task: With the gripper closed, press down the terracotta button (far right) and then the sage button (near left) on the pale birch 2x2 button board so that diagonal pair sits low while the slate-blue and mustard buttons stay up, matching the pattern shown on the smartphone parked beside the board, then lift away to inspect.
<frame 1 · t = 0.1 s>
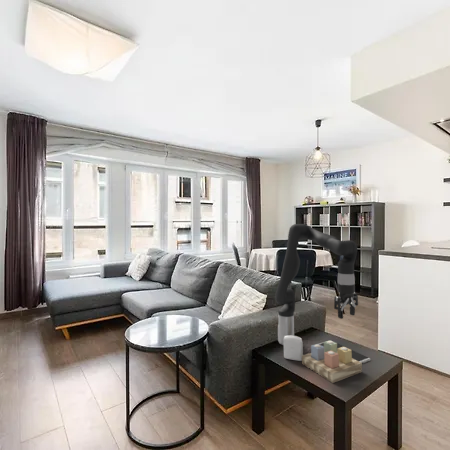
hand: (346, 316, 136), 29 cm above the table, fingers open, 8 cm apart
smartphone: (341, 354, 161), on the table
photo printer: (293, 359, 155), on the table
board: (331, 367, 145), on the table
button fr: (331, 359, 138), point 7 cm above the table, slide at 0.0 cm
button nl: (330, 348, 151), point 7 cm above the table, slide at 0.0 cm
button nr: (317, 351, 146), point 7 cm above the table, slide at 0.0 cm
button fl: (344, 354, 143), point 7 cm above the table, slide at 0.0 cm
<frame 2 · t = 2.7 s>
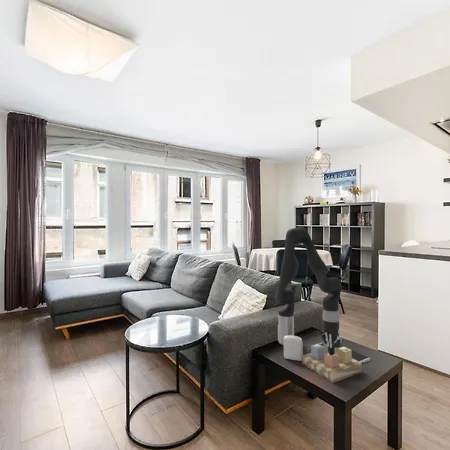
hand: (331, 354, 138), 10 cm above the table, fingers closed
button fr: (331, 360, 138), point 7 cm above the table, slide at 0.8 cm, touching gripper
everything else where it was.
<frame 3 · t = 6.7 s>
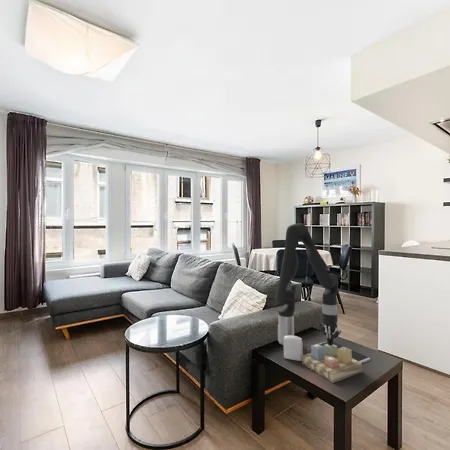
hand: (330, 344, 150), 9 cm above the table, fingers closed
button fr: (331, 365, 138), point 5 cm above the table, slide at 2.9 cm
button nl: (330, 350, 151), point 6 cm above the table, slide at 1.5 cm, touching gripper
everything else where it was.
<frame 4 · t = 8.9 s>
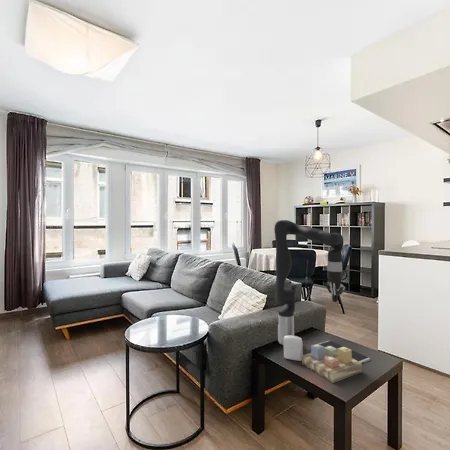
hand: (335, 301, 155), 31 cm above the table, fingers closed
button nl: (330, 353, 151), point 4 cm above the table, slide at 3.0 cm
everything else where it was.
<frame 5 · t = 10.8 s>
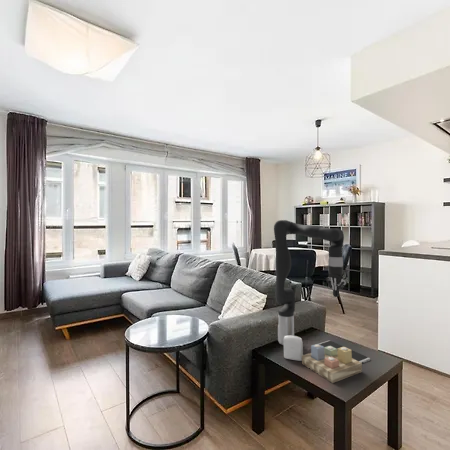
hand: (336, 296, 156), 33 cm above the table, fingers closed
nothing on the table moved.
at the end: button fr slide at 2.9 cm; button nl slide at 3.0 cm; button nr slide at 0.0 cm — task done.
